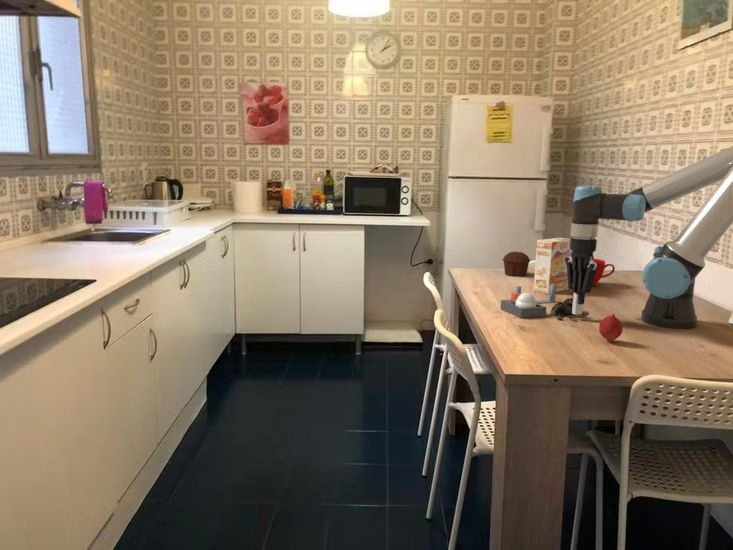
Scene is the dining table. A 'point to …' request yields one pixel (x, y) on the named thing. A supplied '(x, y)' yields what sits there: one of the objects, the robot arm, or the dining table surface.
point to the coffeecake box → (551, 264)
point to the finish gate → (552, 300)
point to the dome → (526, 300)
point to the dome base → (522, 312)
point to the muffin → (516, 264)
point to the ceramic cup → (601, 270)
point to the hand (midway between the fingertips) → (577, 313)
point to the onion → (610, 328)
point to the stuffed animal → (565, 310)
